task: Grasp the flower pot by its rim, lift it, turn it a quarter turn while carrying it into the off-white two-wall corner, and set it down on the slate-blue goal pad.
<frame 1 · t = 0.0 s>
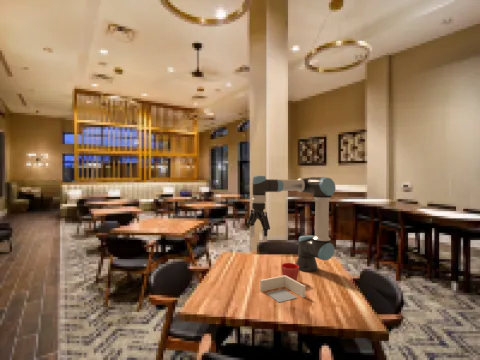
hand: (258, 239, 151), 28 cm above the table, fingers open, 13 cm apart
corner wall: (284, 286, 154), on the table
flower pot: (289, 281, 162), on the table
goal pad: (281, 295, 141), on the table
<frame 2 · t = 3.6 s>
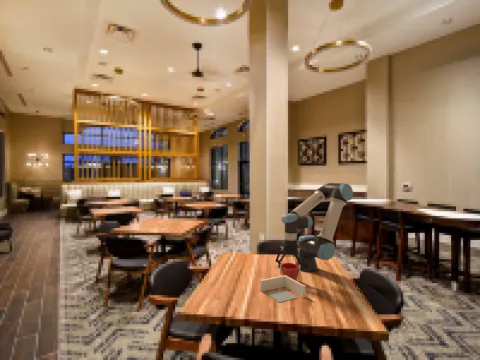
hand: (290, 274, 162), 4 cm above the table, fingers closed on flower pot, 11 cm apart
flower pot: (289, 281, 162), on the table, touching gripper
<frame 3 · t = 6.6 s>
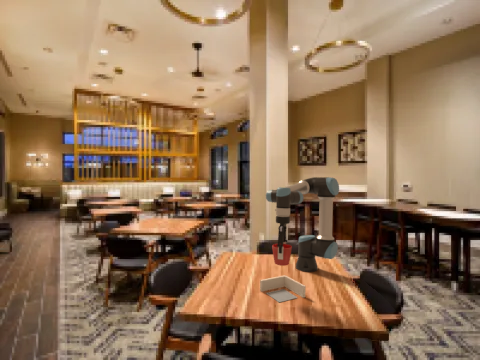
hand: (281, 256, 142), 21 cm above the table, fingers closed on flower pot, 11 cm apart
flower pot: (281, 264, 142), point 17 cm above the table, touching gripper
when the fingers open (4 cm above the table, at t = 9.6 s): flower pot stays where it is, resting on goal pad.
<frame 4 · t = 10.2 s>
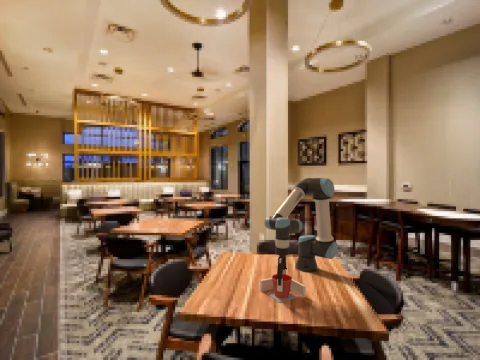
hand: (281, 286, 141), 5 cm above the table, fingers open, 13 cm apart
flower pot: (281, 295, 141), resting on goal pad
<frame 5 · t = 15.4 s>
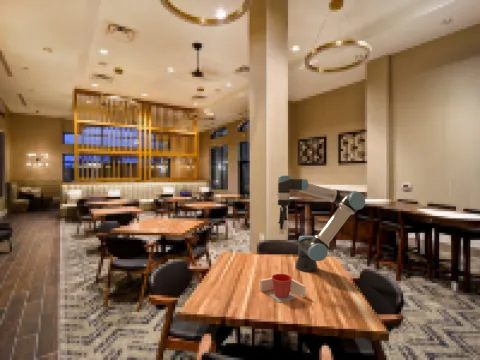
hand: (283, 232, 170), 29 cm above the table, fingers open, 13 cm apart
nothing on the table moved.
at the end: flower pot 0.1 cm from the goal pad (horizontally); flower pot tilted 0°; the gripper is holding nothing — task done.
